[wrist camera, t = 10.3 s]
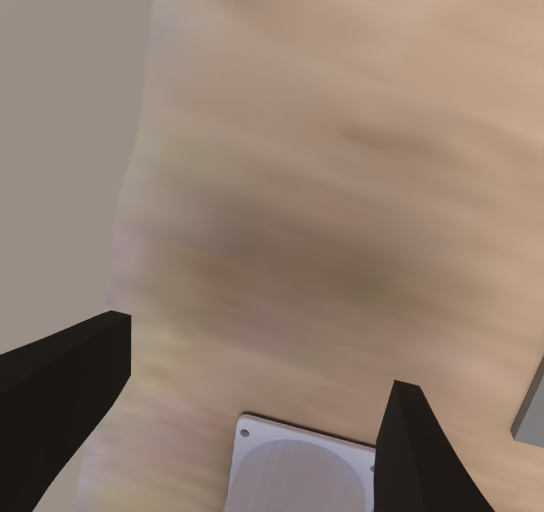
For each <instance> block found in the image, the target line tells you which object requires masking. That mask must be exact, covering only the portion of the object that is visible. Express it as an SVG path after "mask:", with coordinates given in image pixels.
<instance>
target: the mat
mask: <svg viewBox="0 0 544 512" xmlns="http://www.w3.org/2000/svg"><path fill="white" fill-rule="evenodd" d="M511 433H512V436H513V439H514V440H516V441H519V442H523V443H527V444H531V445H535V446H539V447H543V448H544V358H543V361H542V363H541V365H540V367H539V369H538V372H537V374H536V376H535V378H534V381H533V383H532V385H531V387H530V389H529V392H528V394H527V396H526V398H525V400H524V403H523V405H522V407H521V409H520V411H519V414H518V416H517V418H516V420H515V422H514V425H513V427H512V429H511Z"/></svg>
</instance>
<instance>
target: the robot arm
mask: <svg viewBox="0 0 544 512" xmlns="http://www.w3.org/2000/svg"><path fill="white" fill-rule="evenodd" d="M130 376H131V315H128V314H124V313H120V312H116V311H112V310H111V311H108V312H105V313H102V314H100V315H97V316H95V317H92V318H90V319H88V320H85V321H83V322H81V323H78V324H76V325H74V326H71V327H69V328H67V329H64V330H62V331H59V332H57V333H55V334H52V335H51V336H48V337H45V338H43V339H40V340H38V341H35V342H33V343H30V344H27V345H25V346H22V347H19V348H17V349H14V350H12V351H9V352H6V353H4V354H1V355H0V512H32V511H33V510H34V508H35V507H36V505H37V503H38V502H39V501H40V499H41V498H42V496H43V494H44V493H45V491H46V490H47V488H48V487H49V486H50V484H51V483H52V481H53V480H54V479H55V477H56V476H57V475H58V474H59V472H60V471H61V470H62V468H63V467H64V466H65V465H66V463H67V462H68V461H69V460H70V458H71V457H72V456H73V455H74V453H75V452H76V451H77V450H78V449H79V447H80V446H81V445H82V444H83V442H84V441H85V440H86V439H87V437H88V436H89V435H90V434H91V432H92V431H93V430H94V429H95V427H96V426H97V425H98V424H99V422H100V421H101V420H102V418H103V417H104V416H105V415H106V413H107V412H108V411H109V410H110V408H111V407H112V406H113V404H114V402H115V401H116V399H117V398H118V396H119V394H120V393H121V391H122V389H123V388H124V386H125V384H126V382H127V381H128V379H129V377H130ZM243 429H245V430H247V431H248V432H246V431H244V430H243ZM373 465H374V467H373ZM373 507H374V512H495V511H494V510H493V508H492V507H491V506H490V504H489V503H488V502H487V500H486V499H485V498H484V496H483V495H482V493H481V492H480V490H479V489H478V488H477V486H476V485H475V483H474V481H473V480H472V478H471V477H470V475H469V474H468V472H467V471H466V469H465V468H464V466H463V464H462V463H461V461H460V460H459V458H458V456H457V455H456V453H455V451H454V449H453V448H452V446H451V444H450V443H449V441H448V439H447V437H446V436H445V434H444V432H443V430H442V428H441V427H440V425H439V423H438V421H437V419H436V417H435V415H434V413H433V411H432V409H431V407H430V405H429V403H428V401H427V399H426V397H425V395H424V393H423V391H422V390H421V388H420V386H417V385H413V384H409V383H405V382H401V381H397V380H394V384H393V387H392V390H391V394H390V397H389V400H388V404H387V407H386V410H385V414H384V417H383V420H382V424H381V427H380V430H379V434H378V437H377V440H376V449H375V448H371V447H367V446H363V445H360V444H356V443H352V442H349V441H345V440H341V439H337V438H334V437H330V436H326V435H323V434H319V433H315V432H311V431H308V430H304V429H300V428H296V427H293V426H289V425H285V424H282V423H278V422H274V421H270V420H267V419H263V418H259V417H256V416H252V415H248V414H244V415H241V416H240V417H239V419H238V422H237V426H236V434H235V442H234V449H233V457H232V464H231V472H230V479H229V487H228V495H227V501H226V504H225V506H224V509H223V512H372V510H373Z"/></svg>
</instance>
